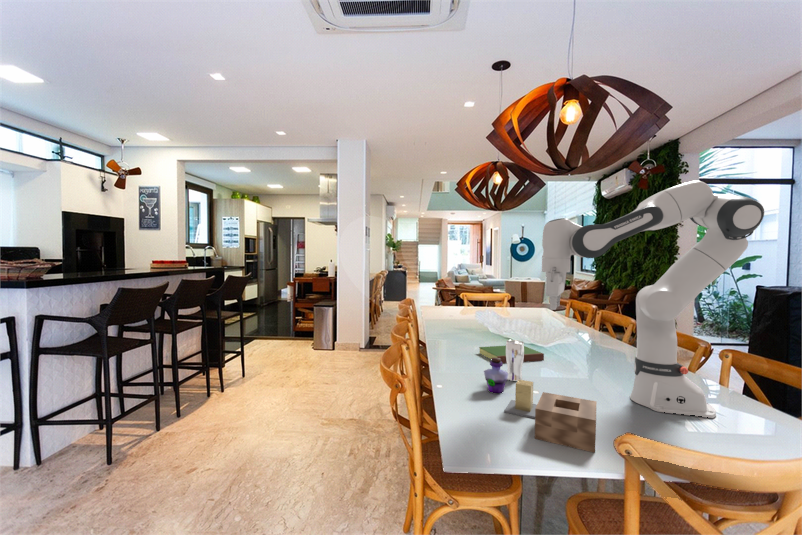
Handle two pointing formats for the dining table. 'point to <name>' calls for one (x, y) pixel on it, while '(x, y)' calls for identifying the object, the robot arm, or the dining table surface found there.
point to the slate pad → (512, 410)
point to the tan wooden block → (524, 395)
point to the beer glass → (514, 359)
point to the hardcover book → (501, 353)
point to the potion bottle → (496, 376)
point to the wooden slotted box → (566, 421)
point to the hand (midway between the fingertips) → (555, 308)
